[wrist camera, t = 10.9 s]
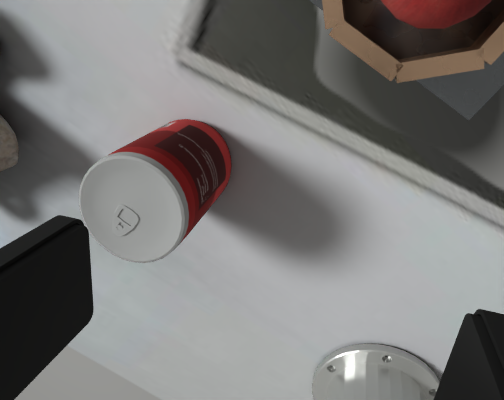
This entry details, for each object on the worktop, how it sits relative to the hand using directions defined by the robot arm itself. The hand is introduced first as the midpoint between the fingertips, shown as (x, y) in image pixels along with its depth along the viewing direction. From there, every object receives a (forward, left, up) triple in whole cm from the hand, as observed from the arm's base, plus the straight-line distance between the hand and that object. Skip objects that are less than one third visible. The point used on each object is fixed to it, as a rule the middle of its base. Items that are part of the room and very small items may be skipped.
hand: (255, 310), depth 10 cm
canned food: (+7, +11, -25) cm, 28 cm away
